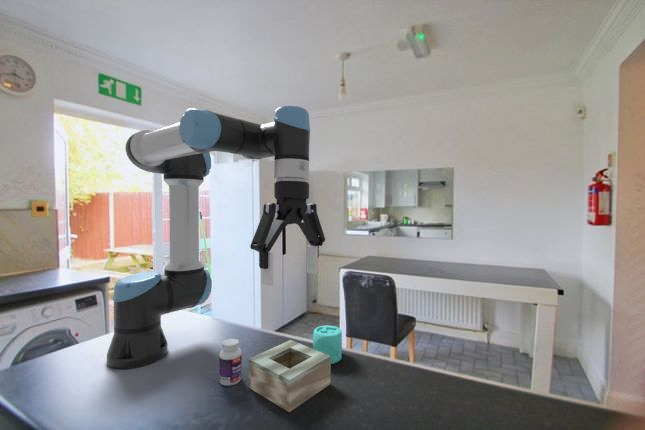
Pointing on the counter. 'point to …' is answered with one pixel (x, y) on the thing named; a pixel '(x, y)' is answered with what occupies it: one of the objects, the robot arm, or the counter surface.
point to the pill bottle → (230, 363)
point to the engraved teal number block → (328, 341)
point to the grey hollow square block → (289, 374)
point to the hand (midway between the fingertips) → (291, 278)
